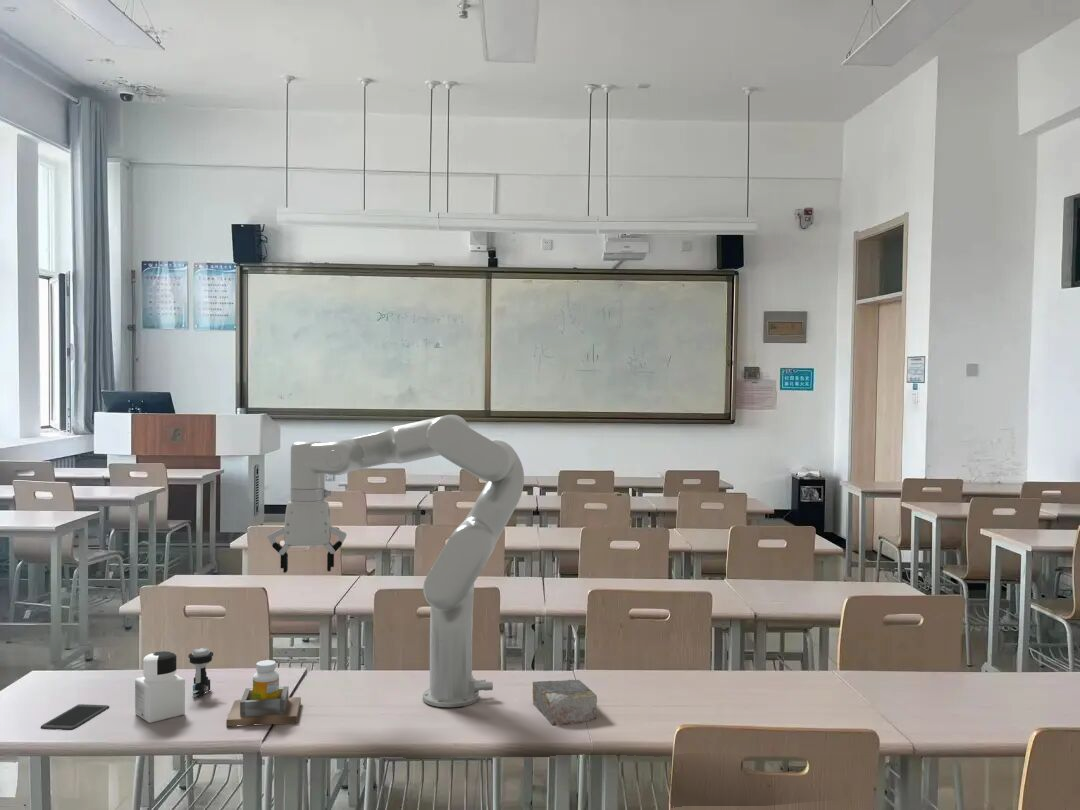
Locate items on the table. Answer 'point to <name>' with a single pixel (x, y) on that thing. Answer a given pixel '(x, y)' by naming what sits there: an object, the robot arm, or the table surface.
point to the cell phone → (75, 717)
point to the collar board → (264, 709)
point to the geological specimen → (564, 701)
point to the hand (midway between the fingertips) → (307, 570)
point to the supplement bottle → (266, 681)
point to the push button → (200, 670)
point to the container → (159, 688)
